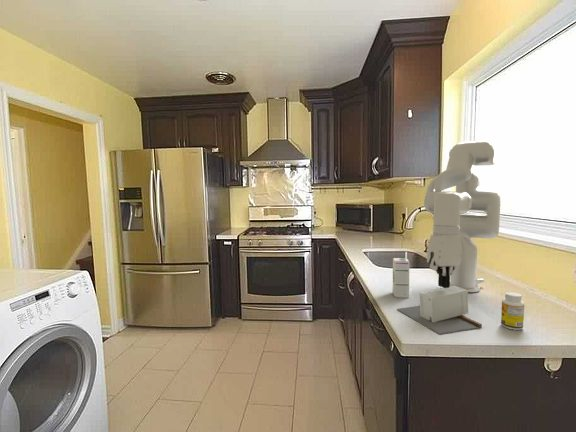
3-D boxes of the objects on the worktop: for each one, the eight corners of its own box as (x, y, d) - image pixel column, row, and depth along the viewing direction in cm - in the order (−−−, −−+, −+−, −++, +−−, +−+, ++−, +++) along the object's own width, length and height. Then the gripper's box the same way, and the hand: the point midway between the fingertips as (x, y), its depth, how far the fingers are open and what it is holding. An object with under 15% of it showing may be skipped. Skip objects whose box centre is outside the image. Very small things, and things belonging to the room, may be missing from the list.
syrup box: (409, 298, 122) (410, 261, 121) (393, 297, 123) (394, 260, 122) (406, 293, 127) (407, 258, 126) (391, 292, 129) (392, 257, 127)
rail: (433, 305, 114) (433, 301, 114) (481, 327, 95) (481, 324, 95) (431, 305, 114) (431, 302, 114) (479, 328, 95) (479, 324, 95)
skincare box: (454, 285, 107) (418, 291, 103) (469, 290, 101) (432, 296, 97) (454, 308, 108) (418, 315, 103) (469, 315, 102) (432, 323, 98)
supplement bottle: (501, 321, 100) (503, 290, 99) (523, 326, 96) (525, 293, 95) (499, 327, 95) (501, 294, 95) (522, 332, 92) (524, 298, 91)
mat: (430, 305, 114) (430, 304, 114) (477, 328, 95) (477, 327, 95) (396, 309, 110) (396, 308, 110) (439, 334, 91) (439, 333, 91)
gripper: (455, 228, 107) (453, 281, 108) (418, 230, 102) (416, 285, 104) (474, 231, 99) (471, 288, 101) (435, 233, 95) (433, 292, 96)
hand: (443, 286), depth 102 cm, fingers closed
